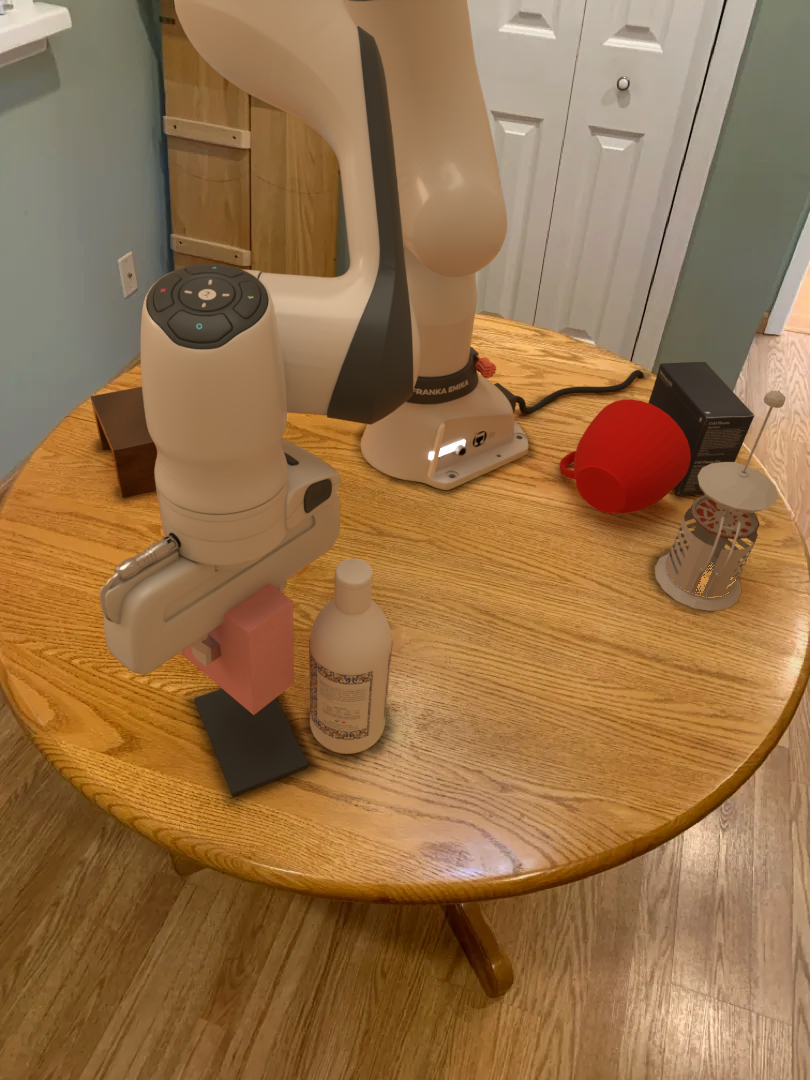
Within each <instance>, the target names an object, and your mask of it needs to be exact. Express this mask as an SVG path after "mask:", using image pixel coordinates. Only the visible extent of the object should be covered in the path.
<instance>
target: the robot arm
mask: <svg viewBox="0 0 810 1080" xmlns="http://www.w3.org/2000/svg"><path fill="white" fill-rule="evenodd" d="M173 4H174V9H175V14H176V16H177V18H178V21H179V24H180V26H181V27H182V30H183V32H184V34H185V36H186V37H187V39H188V41H189V42H190V44H191V45H192V47H193V49H195V51H196V52H197V53H198V54H199V55H200V57H201V58H202V59H203V60H204V61H205V62H206V63H207V64H208V65H209V66H210V67H211V68H212V69H213V70H214V71H215V72H216V73H218V74H219V75H220V76H221V77H223V79H226V80H227V81H228V82H230V83H231V84H232V85H234V86H235V87H237V88H238V89H240V90H241V91H243V92H245V93H246V94H248V95H250V96H252V97H254V98H256V99H257V100H260V101H262V102H264V103H266V104H268V105H271V106H273V107H274V108H277V109H278V110H280V111H282V112H285V113H286V114H288V115H290V116H292V117H293V118H295V119H297V120H298V121H300V122H302V123H303V124H305V125H306V126H308V127H309V128H311V129H312V130H313V131H315V132H316V133H317V134H319V135H320V136H321V137H322V138H323V139H324V140H325V141H326V142H327V144H328V145H329V146H330V148H331V149H332V151H333V152H334V155H335V157H336V159H337V161H338V162H337V163H338V165H339V173H340V180H341V181H340V182H341V191H342V200H343V208H344V217H345V218H344V219H345V227H346V237H347V245H348V256H349V267H348V269H347V271H346V272H345V273H343V274H342V275H339V276H335V277H334V276H332V277H328V276H327V277H326V276H325V277H324V276H315V275H303V274H301V275H299V274H290V273H289V274H288V273H275V272H274V273H273V272H264V271H263V270H256V269H245V268H244V269H243V268H238V267H236V266H232V265H228V264H222V263H198V264H191V265H187V266H183V267H180V268H177V269H174V270H172V271H170V272H168V273H166V274H164V275H163V276H161V277H160V278H159V279H157V280H156V281H155V282H154V283H153V284H152V285H151V286H150V288H149V289H148V291H147V293H146V295H145V297H144V299H143V303H142V310H141V319H140V320H141V321H140V380H141V387H142V392H143V402H144V410H145V417H146V423H147V428H148V431H149V434H150V436H151V438H152V440H153V442H154V443H155V445H156V448H157V458H156V463H155V469H154V473H155V483H156V490H155V491H156V496H157V503H158V507H159V508H158V509H159V514H160V515H159V516H160V521H161V529H162V534H163V536H164V537H163V538H161V539H159V540H158V541H156V542H154V543H153V544H151V545H150V546H148V547H147V548H145V549H144V550H142V551H141V552H140V553H138V554H137V555H135V556H133V557H132V556H131V557H128V558H127V559H125V560H122V561H121V562H120V563H119V564H117V565H116V566H115V567H114V570H113V571H114V573H113V574H112V575H111V576H110V577H109V578H108V579H107V581H106V582H105V584H104V585H102V587H100V589H99V593H98V596H99V597H98V598H99V602H100V607H101V611H102V613H103V630H104V631H103V632H104V638H105V643H106V648H107V650H108V652H109V653H110V654H111V655H112V656H113V657H114V658H115V659H116V660H117V662H119V663H120V664H121V665H123V667H124V668H126V669H127V670H128V671H130V672H132V673H135V674H137V675H142V676H147V675H150V674H151V673H152V672H154V671H155V670H157V669H159V668H160V667H161V666H162V665H164V664H165V663H167V662H168V661H170V660H171V659H173V658H174V657H176V656H177V655H179V654H180V653H182V651H183V650H184V649H186V648H187V647H189V646H190V645H191V647H192V653H193V655H194V657H195V658H196V659H197V660H198V661H199V662H200V663H202V664H203V665H204V666H208V665H209V664H210V663H212V662H213V661H214V660H216V659H217V658H218V657H220V656H221V652H220V644H219V643H218V642H217V641H216V640H214V639H212V638H211V636H209V635H208V633H209V632H211V631H212V630H214V629H215V628H217V627H218V626H220V625H221V624H222V623H224V620H225V617H224V614H225V613H226V612H228V611H229V610H231V609H232V608H234V607H235V606H237V605H238V604H239V603H241V602H242V601H244V600H245V599H247V598H248V597H250V596H251V595H253V594H254V593H256V592H257V591H259V590H260V589H262V588H263V587H265V586H266V585H268V584H269V583H270V584H271V585H272V586H274V587H275V588H277V589H278V590H279V591H281V592H282V593H283V594H284V590H285V589H286V587H287V585H288V583H287V582H288V581H287V580H289V578H291V577H293V576H295V575H296V574H297V573H299V572H300V571H302V570H303V569H305V568H306V567H308V566H309V565H310V564H312V563H314V562H315V561H316V560H318V559H319V558H320V557H322V556H324V555H326V554H327V553H328V552H329V551H331V550H332V548H333V547H334V546H335V544H336V542H337V541H338V539H339V536H340V532H341V500H340V496H339V494H338V492H339V489H340V487H341V486H340V485H341V474H340V472H339V471H337V470H336V469H335V468H333V466H331V465H330V464H328V463H327V462H326V461H325V460H323V459H321V458H320V457H319V456H316V455H315V454H314V453H312V452H310V451H309V450H307V449H305V448H303V447H301V446H299V445H298V444H296V443H293V442H292V441H290V440H287V439H285V438H283V436H284V434H285V430H286V427H287V421H288V419H287V418H288V413H289V414H290V413H291V414H300V415H301V414H303V415H316V416H326V418H329V419H334V420H339V421H341V420H342V421H345V422H352V423H359V424H364V425H366V427H365V429H364V432H363V434H362V436H361V439H360V446H359V447H360V452H361V454H362V456H363V457H364V459H365V460H366V462H367V463H368V464H369V465H371V466H372V467H373V468H374V469H376V470H377V471H378V472H381V473H383V474H385V475H387V476H389V477H393V478H396V479H399V480H405V481H411V482H417V483H422V484H426V485H428V486H431V487H433V488H436V489H438V490H443V491H450V490H452V489H454V488H457V487H459V486H461V485H463V484H465V483H468V482H470V481H472V480H474V479H476V478H479V477H481V476H483V475H486V474H488V473H490V472H492V471H494V470H497V469H498V468H501V467H503V466H505V465H507V464H509V463H512V462H514V461H516V460H519V459H521V458H523V457H525V456H527V455H528V454H529V440H528V437H527V435H526V432H525V431H524V430H523V429H522V427H521V426H520V425H519V424H518V422H517V421H516V420H515V411H516V407H517V404H518V408H519V411H520V413H522V414H525V415H530V414H533V413H535V412H537V411H538V410H540V409H542V408H544V407H545V406H547V405H548V404H550V403H552V402H553V401H554V400H556V399H558V398H560V397H564V396H566V395H573V394H609V393H616V392H619V391H622V390H626V388H628V387H629V386H630V385H631V384H632V383H633V382H634V381H635V380H636V378H639V379H643V378H645V374H644V372H642V370H640V369H635V370H633V371H632V372H631V373H630V375H628V377H627V378H625V380H624V381H623V382H621V383H618V384H615V385H610V386H609V385H607V386H606V385H605V386H569V387H566V388H561V389H558V390H556V391H554V392H552V393H550V394H549V395H547V396H545V397H544V398H543V399H541V400H540V401H539V402H538V403H536V404H535V405H533V406H527V404H526V400H525V399H524V398H523V397H521V396H519V395H515V394H514V393H512V392H511V391H510V390H509V389H507V388H506V387H505V386H504V385H502V384H500V383H499V382H496V383H493V382H492V381H491V380H489V379H490V378H492V377H494V375H495V374H496V371H497V365H496V364H494V363H493V362H492V361H490V359H489V358H488V357H487V356H485V357H480V356H479V354H480V353H479V352H478V351H477V350H476V349H475V348H473V347H472V339H473V331H474V326H475V325H474V324H475V318H476V312H477V311H476V310H477V304H478V303H477V302H478V289H477V280H476V278H477V277H476V273H477V272H479V271H481V270H482V269H484V268H485V267H487V266H488V265H489V264H490V263H492V261H493V260H494V259H495V258H496V257H497V255H498V254H499V253H500V251H501V249H502V247H503V245H504V243H505V240H506V237H507V231H508V214H507V207H506V201H505V197H504V191H503V185H502V181H501V175H500V169H499V164H498V158H497V153H496V148H495V144H494V143H495V142H494V139H493V134H492V130H491V129H492V128H491V125H490V120H489V116H488V110H487V106H486V102H485V97H484V93H483V89H482V85H481V80H480V76H479V72H478V66H477V61H476V55H475V49H474V42H473V33H472V26H471V18H470V13H469V6H468V0H173ZM634 379H635V380H634Z"/></svg>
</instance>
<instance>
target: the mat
mask: <svg viewBox="0 0 810 1080" xmlns="http://www.w3.org/2000/svg"><path fill="white" fill-rule="evenodd" d="M193 701H194V704H195V707H196V709H197V712H198V714H199V717H200V719H201V722H202V724H203V727H204V730H205V732H206V734H207V737H208V740H209V742H210V744H211V747H212V749H213V752H214V754H215V758H216V760H217V762H218V764H219V767H220V769H221V772H222V774H223V777H224V779H225V780H224V781H225V782H226V784H227V787H228V789H229V792H230V794H231V796H232V798H234V797H237V796H239V795H242V794H245V793H247V792H249V791H252V790H254V789H257V788H260V787H262V786H265V785H268V784H270V783H272V782H275V781H278V780H281V779H283V778H286V777H288V776H291V775H293V774H296V773H298V772H301V771H304V770H306V769H308V768H309V762H308V760H307V758H306V756H305V754H304V752H303V750H302V748H301V745H300V743H299V741H298V739H297V736H296V734H295V732H294V730H293V729H292V727H291V725H290V723H289V721H288V719H287V717H286V715H285V712H284V710H283V708H282V706H281V704H280V702H279V699H278V698H277V697H276V698H275V699H274V700H272V701H271V702H270V703H269V704H267V705H266V706H265V707H264V708H262V709H261V710H260V711H258V712H257V713H256V714H255V715H253V714H252V713H251V712H249V711H248V710H247V709H246V708H245V707H243V706H242V705H241V704H240V703H239V702H238V701H236V700H235V699H234V698H233V697H232V696H230V695H229V694H228V693H227V692H226V691H225V690H223V689H222V688H220V689H218V690H214V691H211V692H208V693H205V694H203V695H200V696H196V697H194V698H193Z"/></svg>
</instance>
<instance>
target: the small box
mask: <svg viewBox="0 0 810 1080" xmlns="http://www.w3.org/2000/svg"><path fill="white" fill-rule="evenodd" d="M655 377H656V378H655V379H654V380H655V381H654V384H653V387H652V390H651V393H650V396H649V400H648V403H649V404H652V405H654V406H656V407H657V408H659V409H661V410H662V411H664V412H665V413H666V414H668V415H669V416H670V417H671V418H672V419H673V420H674V421H675V422H676V423H677V424H678V426H679V427H680V428H681V430H682V431H683V433H684V435H685V437H686V439H687V441H688V444H689V448H690V456H691V460H690V466H689V469H688V471H687V473H686V475H685V476H684V478H683V479H682V480H681V481H680V482H679V483H678V484H677V486H676V487H675V488H674V489H673V490H672V491H674V493H675V494H676V495H677V496H687V495H699V494H704V492H703V491H702V490H701V488H700V486H699V480H698V474H699V472H700V471H701V469H702V468H703V467H705V466H707V465H709V464H711V463H720V462H737V461H736V460H737V458H738V456H739V453H740V451H741V449H742V446H743V445H744V442H745V439H746V437H747V434H748V432H749V431H750V427H751V425H752V422H753V420H754V418H755V414H754V413H753V412H752V410H750V408H749V407H748V406H747V405H746V404H745V403H744V402H743V401H742V400H741V398H739V396H737V394H735V392H734V391H733V390H732V389H731V388H730V387H729V386H728V385H727V384H726V383H725V382H724V380H723V379H722V378H721V377H720V376H719V375H718V374H717V373H716V372H715V371H714V369H713V368H712V367H711V366H710V365H709V364H708V363H707V362H706V361H691V362H690V361H686V362H685V361H684V362H664V363H663V362H662V363H660V364H659V367H658V371H657V374H656V376H655Z"/></svg>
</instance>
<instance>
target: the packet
mask: <svg viewBox="0 0 810 1080" xmlns="http://www.w3.org/2000/svg"><path fill="white" fill-rule="evenodd" d="M224 617H225V620H224V623H222V624H221V625H220V626H218V627H217V628H215V629H214V630H212V631H211V632H209V633H208V635H209V636H211V638H212V639H214V640H216V641H217V642H218V643H219V644H220V652H221V656H220V657H218V658H217V659H216V660H214V661H213V662H212V663H210V664H209V665H208V666H204V665H203V664H202V663H200V662H199V661H198V660H197V659H196V658H195V657H194V655H193V653H192V647H191V645H190V646H189V647H187V648H186V649H184V650H183V651H181V655H182V656H183V657H184V658H185V659H187V660H188V661H189V662H190V664H193V666H194V667H196V668H197V669H199V670H200V671H201V672H202V673H203V674H204V675H206V676H207V677H208V678H209V679H210V680H211V681H213V682H214V683H215V684H216V685H217V686H218V687H220V689H223V690H225V691H226V692H227V693H228V694H229V695H230V696H232V697H233V698H234V699H235V700H236V701H238V702H239V703H240V704H241V705H242V706H243V707H245V708H246V709H247V710H248V711H249V712H251V713H252V714H253V715H255V714H256V713H257V712H258V711H260V710H261V709H262V708H264V707H265V706H266V705H267V704H269V703H270V702H271V701H272V700H274V699H275V698H277V697H279V696H281V694H283V693H284V692H285V691H287V690H288V689H289V688H290V687H292V686H293V685H294V684H295V645H294V644H295V642H294V641H295V639H294V637H295V635H294V633H295V631H294V629H295V628H294V600H293V599H292V598H290V597H289V596H288V595H286V594H285V593H284V592H283V593H282V592H281V591H279V590H278V589H277V588H275V587H274V586H272V585H271V584H270V583H269V584H268V585H266V586H265V587H263V588H262V589H260V590H259V591H257V592H256V593H254V594H253V595H251V596H250V597H248V598H247V599H245V600H244V601H242V602H241V603H239V604H238V605H237V606H235V607H234V608H232V609H231V610H229V611H228V612H226V613H225V614H224Z"/></svg>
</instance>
